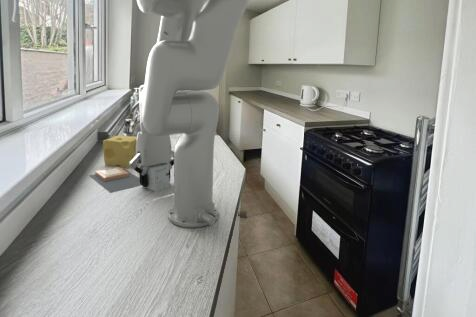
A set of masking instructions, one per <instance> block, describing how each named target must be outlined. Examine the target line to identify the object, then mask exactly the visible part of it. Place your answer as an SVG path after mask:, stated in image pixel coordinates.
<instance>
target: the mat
mask: <svg viewBox="0 0 476 317" xmlns="http://www.w3.org/2000/svg"><path fill="white" fill-rule="evenodd" d="M122 169H123V170H125V171H126V172H128V173H129V176H128V177H123V178H118V179H114V180H109V181H103V180H102V179H101V178H99V177H98V176H97V175H95V174H90V175H88V176H89V178H92V179H93V180H94V181H95V182H96V183H97V184H98V185H100V186H101V187H103V189H104V190H106V191H107V192H109V193H110V194H112V193H117V192H120V191H123V190H128V189H132V188H137V187H141V186H142V185H141V184H140V179H139V177H138V176H136V175H135V174H134V173H132V172H130V171H128V170H127V169H126V168H122Z"/></svg>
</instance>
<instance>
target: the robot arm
mask: <svg viewBox="0 0 476 317" xmlns="http://www.w3.org/2000/svg"><path fill="white" fill-rule="evenodd" d="M249 1H250V0H136V2H137V6H138V8H139V10H140V11H141V12H142V13H144V14H147V15H150V16H151V15H152V16H158V17H160V23H159V30H158V34H157V40H156V43H155V44H154V45H153V47H152V48H151V50H150V52H149V55H148V58H147V62H146V71H145V78H144V84H142V85H140V86H139V88H138V103H139V121H140V122H139V125H140V131H138V132H137V135H136V137H137V141H136V156H135V157H134V158H133V159H132V160H131V161H130V162H129V165H130V166H131V167H130V168H132V170H134V171H135V172H136V173H137V174H138V176H139V177H138V178H139V179H140V184H141V186H143V187H142V188H145V189H147V188H146V187H148V182H147V175H146V174H145V173H146V171H147V169H148V166H153V165H158V164H163V163H165V164H168V165H169V183H170V182H171V170H172V169H173V182H174V183H173V185H174V186H173V188H174V191H173V193H174V199H173V200H174V206H172V207H171V208H170V209H169V210H168V214H167V215H168V220H169V221H170V222H171V223H172V224H174V225H176V226H179V227H182V228H192V229H193V228H201V227H206V226H209V225H210V226H212V225H215V222H216V221H217V220H218V219H219V218H220V213H219V211H218V208H216V206H215V203H214V202H213V190H214V186H213V184H214V157H215V156H214V153H215V152H214V149H215V137H216V131H217V126H218V122H219V116H220V108H219V103H218V100H217V99H216V98H215V97H214V95H213V94H211V93H210V92H207V91H210V90H213V89H216V88H218V86H219V85H220V84H221V82H222V80H223V77H224V75H225V72H226V71H225V70H226V69H227V68H226V67H227V64H228V61H229V56H230V53H231V49H232V46H233V42H234V38H235V35H236V31H237V29H238V26H239V24H240V22H241V19H242V17H243V15H244V14H245V11H246V8H247V6H248V4H249ZM171 135H172V136H173V135H179V137H178V138H177V140H176V143H175V145H174V149H173V150H172V141H171ZM137 164H139V166H137Z"/></svg>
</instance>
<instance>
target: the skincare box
mask: <svg viewBox="0 0 476 317" xmlns="http://www.w3.org/2000/svg"><path fill="white" fill-rule="evenodd" d="M145 174H146V175H147V182H148V187H146V188H145V189H148V190H150V191H151V190H152V191H154V192H157V191H160V190H161V189H164V188H166V187H169V186H170V182H169V165H168V164H165V163H163V164H158V165H153V166H148V169H147V171H146V173H145ZM141 186H142V185H141ZM142 188H144V187H143V186H142Z"/></svg>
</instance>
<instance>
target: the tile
mask: <svg viewBox="0 0 476 317" xmlns="http://www.w3.org/2000/svg"><path fill="white" fill-rule="evenodd" d="M123 169H124V168H122V167H120V166H113V167H109V168H104V169H100V170H99V169H98V170H95V171H94V173H95V175H97V176H98V177H99V178H101V179H102V180H103V181H109V180H114V179H118V178H123V177H128V176H129V173H128V172H126V171H125V170H126V169H125V170H123Z"/></svg>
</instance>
